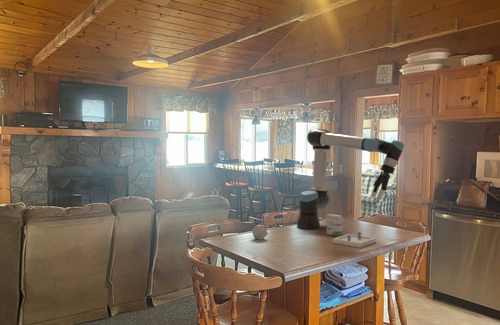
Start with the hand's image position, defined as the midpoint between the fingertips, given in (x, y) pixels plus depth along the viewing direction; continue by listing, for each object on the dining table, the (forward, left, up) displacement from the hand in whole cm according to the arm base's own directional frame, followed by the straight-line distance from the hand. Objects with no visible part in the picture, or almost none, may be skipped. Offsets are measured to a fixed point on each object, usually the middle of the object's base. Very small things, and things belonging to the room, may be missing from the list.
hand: (375, 198), depth 229 cm
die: (-40, -60, -22) cm, 75 cm away
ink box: (-16, -20, -22) cm, 33 cm away
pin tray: (+2, -30, -21) cm, 37 cm away
